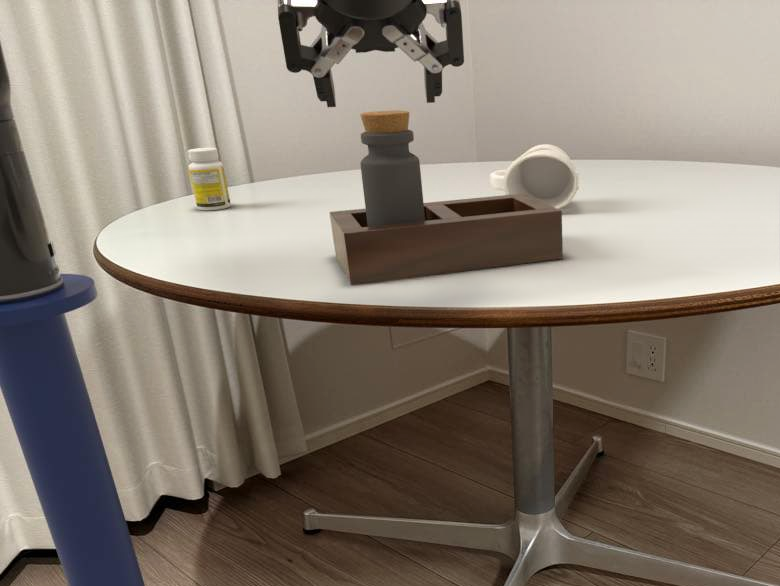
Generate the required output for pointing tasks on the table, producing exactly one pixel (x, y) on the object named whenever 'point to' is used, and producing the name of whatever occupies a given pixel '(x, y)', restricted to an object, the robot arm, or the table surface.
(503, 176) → the mug
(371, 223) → the bottle
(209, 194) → the supplement bottle
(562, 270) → the table surface
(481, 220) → the box
